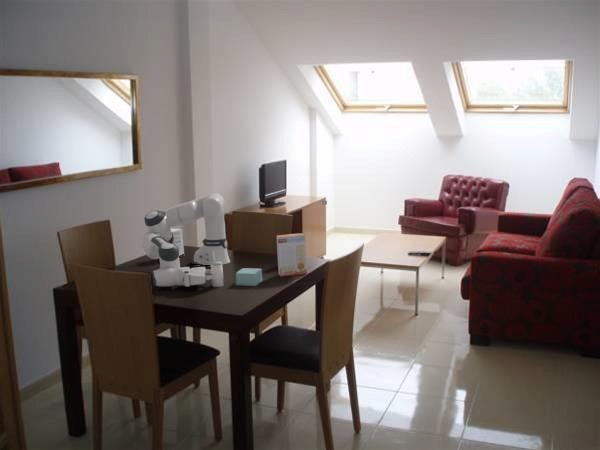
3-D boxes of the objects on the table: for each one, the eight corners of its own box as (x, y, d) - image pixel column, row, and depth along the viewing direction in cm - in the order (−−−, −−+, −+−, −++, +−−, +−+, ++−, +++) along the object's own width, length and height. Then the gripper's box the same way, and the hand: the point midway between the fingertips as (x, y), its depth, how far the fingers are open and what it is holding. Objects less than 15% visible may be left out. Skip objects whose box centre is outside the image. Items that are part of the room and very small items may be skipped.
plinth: (235, 285, 326) (234, 273, 325) (243, 279, 337) (242, 267, 335) (256, 285, 324) (255, 273, 323) (263, 280, 334) (262, 268, 333)
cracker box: (304, 271, 347) (302, 232, 343) (307, 274, 341) (305, 234, 337) (278, 274, 344) (276, 234, 340) (280, 277, 338) (278, 236, 334)
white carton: (184, 256, 394) (182, 228, 391) (175, 260, 385) (173, 231, 382) (171, 255, 398) (169, 228, 395) (162, 259, 389) (159, 231, 386)
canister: (210, 286, 325) (208, 263, 323) (214, 283, 331) (213, 260, 329) (221, 287, 324) (219, 264, 322) (225, 284, 329) (224, 261, 327)
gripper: (187, 277, 335) (215, 275, 337) (186, 287, 315) (215, 285, 317) (186, 264, 334) (214, 262, 335) (185, 274, 314) (214, 272, 315)
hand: (214, 274), depth 326 cm, fingers open, 8 cm apart
